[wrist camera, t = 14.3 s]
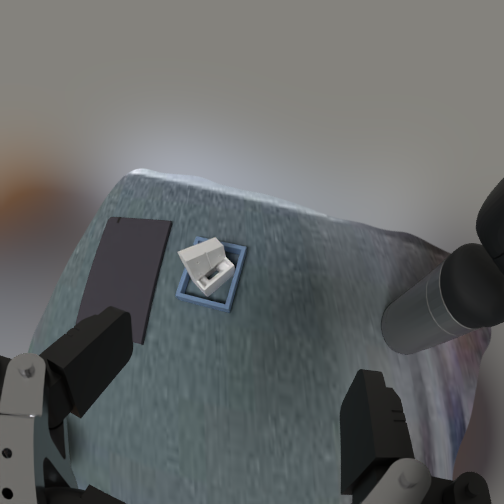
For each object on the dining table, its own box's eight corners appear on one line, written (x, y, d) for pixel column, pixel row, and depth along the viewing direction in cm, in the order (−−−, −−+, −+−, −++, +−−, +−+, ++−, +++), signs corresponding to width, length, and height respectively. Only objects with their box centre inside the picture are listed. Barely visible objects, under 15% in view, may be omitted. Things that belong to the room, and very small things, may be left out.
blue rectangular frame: (246, 252, 48) (246, 246, 46) (229, 312, 43) (228, 309, 41) (198, 242, 49) (196, 236, 47) (178, 299, 44) (175, 295, 42)
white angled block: (167, 293, 42) (177, 252, 37) (215, 269, 49) (231, 230, 44) (181, 311, 41) (194, 271, 35) (229, 285, 48) (248, 246, 42)
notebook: (144, 345, 41) (172, 225, 51) (140, 344, 40) (170, 220, 49) (79, 329, 42) (112, 220, 52) (74, 327, 41) (109, 216, 50)
